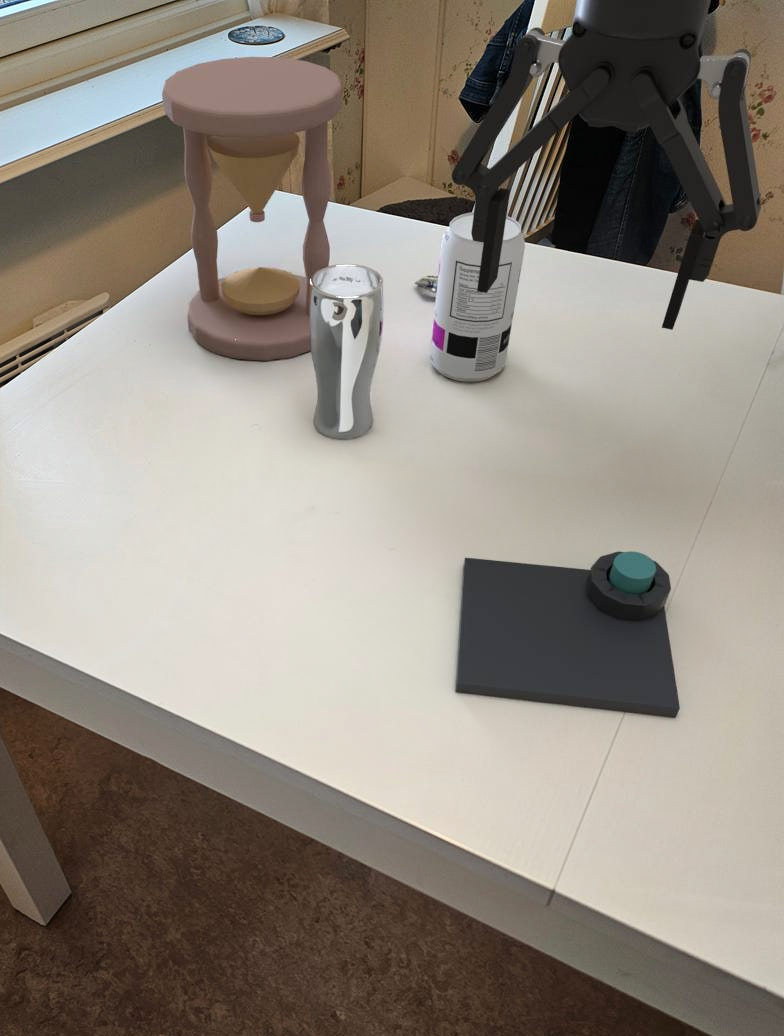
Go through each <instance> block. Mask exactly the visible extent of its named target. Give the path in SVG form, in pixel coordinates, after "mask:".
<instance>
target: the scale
mask: <svg viewBox="0 0 784 1036" xmlns="http://www.w3.org/2000/svg"><path fill="white" fill-rule="evenodd" d="M623 552H624V551H615V552H611V553H608V554H605V555H601V556H600V557H599V558H598V559H597V560H595V562H594V563H593V564H592V566H591V567H590V569H587V568H586V569H585V568H575V567H566V566H565V567H564V566H555V565H545V564H536V563H535V564H534V563H527V562H525V563H523V562H515V561H506V560H495V559H485V558H484V559H483V558H473V557H464V561H463V567H462V577H461V581H462V582H461V597H460V610H459V611H460V613H459V630H458V644H457V657H456V658H457V660H456V675H455V691H454V692H455V693H458V694H465V695H466V694H467V695H473V696H474V695H475V696H483V697H491V698H499V699H508V700H515V701H516V700H517V701H525V702H532V703H533V702H534V703H543V704H551V705H560V706H568V707H577V708H585V709H595V710H602V711H611V712H620V713H629V714H630V713H631V714H637V715H647V716H654V717H662V718H663V717H664V718H672V719H676V718H677V715H678V713H679V711H680V710H681V705H680V700H679V693H678V687H677V680H676V674H675V667H674V660H673V655H672V648H671V641H670V635H669V628H668V622H667V615H666V608H665V605H666V603H667V600H668V598H669V595H670V593H671V590H672V586H671V580H670V579H671V578H670V575H669V573H668V572H667V571H666V570H665V569H664V568H663V567H662V566H661V564H660V563H658V562H657V561H656V560H653V559H652V560H653V562H654V563H655V565H656V572H655V575H654V577H653V580H652V583H651V585H650V588H649V589H648V590H647V591H646V592H644V593H642V594H629V593H624V592H622V591H620V590H618V589H616V588H614V587H613V586H612V584H611V583H610V580H609V575H610V572H611V569H612V566H613V563H614V560H615V558H616V557H617V556H618V555H619V554H621V553H623Z"/></svg>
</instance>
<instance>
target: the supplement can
mask: <svg viewBox="0 0 784 1036" xmlns="http://www.w3.org/2000/svg"><path fill="white" fill-rule="evenodd" d="M473 216H474V211H472V212H466V213H463V214H460V215H458V216H455V217H454V218H452V220H451V221H449V226H448V227H447V228H446V230H445V232H444V233H443V235H442V236H441V244H440V245H441V246H440V255H439V265H438V275H437V276H438V284H437V294H436V297H435V304H434V314H433V315H434V316H433V326H432V336H431V344H430V353H429V354H430V355H429V361H430V363H431V364H432V366H433V367H434V369H435V368H436V370H437V372H439V373H440V374H441V375H443V376H444V377H446V378H449V379H452V380H454V381H459V382H465V383H466V382H480V381H484V380H488V379H490V378H492V377H493V376H496V374H497V373H499V372H501V371H502V369H503V368H504V366H505V365H506V361H507V355H508V349H509V343H510V337H511V331H512V326H513V321H514V320H513V319H514V315H515V314H514V313H515V309H516V308H515V307H516V302H517V297H518V290H519V284H520V279H521V278H520V277H521V273H522V267H523V260H524V254H525V249H526V245H525V243H526V241H525V238H524V235H523V232H522V226H521V224H520V223H519V222H518V221H517V220H516V219H514V218H512V217H510V216H508V215H507V216H506V223H505V229H504V236H503V243H502V249H501V256H500V263H499V269H498V276H497V279H496V280H495V282H494V283H493V285H492V286H491V288H490V289H489V290H488V292H487V293H484V292H479V291H477V288H478V280H479V273H480V266H481V258H482V251H483V242H477V241H473V238H472V234H471V232H472V224H473Z"/></svg>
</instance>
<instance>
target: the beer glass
mask: <svg viewBox="0 0 784 1036" xmlns="http://www.w3.org/2000/svg"><path fill="white" fill-rule="evenodd" d="M310 283H311V286H310V298H309V316H308V328H309V342H310V349H311V351H310V355H311V360H312V365H313V370H314V375H315V382H316V390H317V391H316V392H317V395H316V404H315V410H314V414H313V426H314V428H315V429H316V431H317V432H318V433H320V434H321V435H323V436H325V437H327V438H330V439H335V440H352V439H356V438H360V437H362V436H364V435H366V434H367V433H368V432H369V431H370V430H371V429H372V427H373V426H374V425H373V424H374V416H373V408H372V403H371V402H372V401H371V400H372V399H371V394H372V393H371V391H372V385H373V379H374V374H375V371H376V367H377V363H378V359H379V355H380V352H381V351H380V350H381V345H382V340H383V329H384V279H383V276H382V275H381V274H380V273H379V272H378V271H377V270H375V269H373V268H371V267H368V266H366V265H361V264H355V263H340V264H339V263H337V264H332V265H329V266H328V267H324V268H322V269H320V270H318V271H317V272H315V273H314V274H313V275H312V277H311V280H310Z"/></svg>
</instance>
